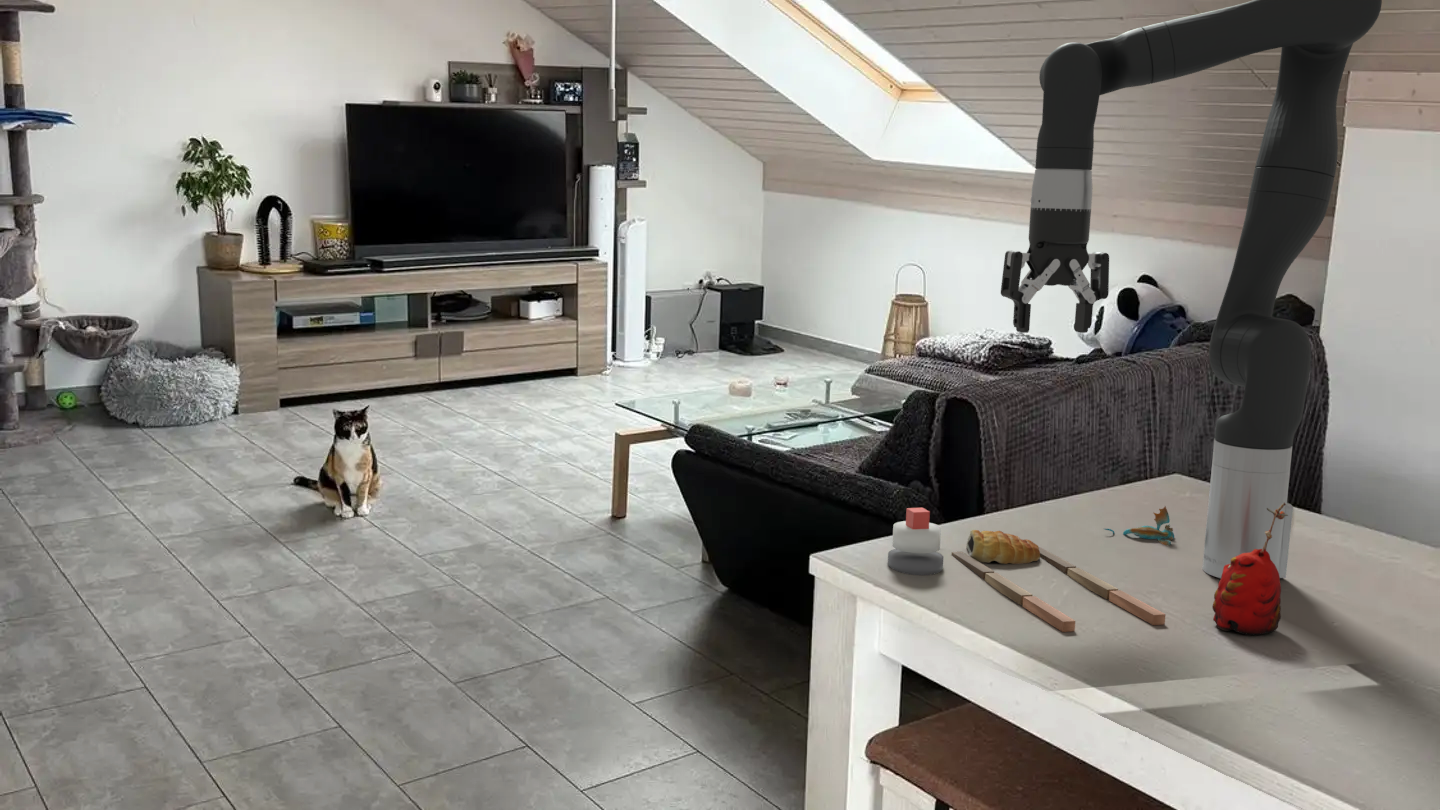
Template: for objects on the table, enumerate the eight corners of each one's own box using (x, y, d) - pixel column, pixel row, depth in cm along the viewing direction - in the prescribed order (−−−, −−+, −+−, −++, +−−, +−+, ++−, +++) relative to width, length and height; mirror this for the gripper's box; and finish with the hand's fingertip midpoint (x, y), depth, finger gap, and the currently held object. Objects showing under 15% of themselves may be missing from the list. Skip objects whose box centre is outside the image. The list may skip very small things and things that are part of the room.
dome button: (927, 539, 169) (929, 503, 168) (948, 551, 163) (950, 514, 162) (885, 541, 167) (886, 505, 166) (903, 554, 161) (905, 516, 161)
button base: (928, 561, 170) (929, 546, 169) (952, 576, 163) (952, 561, 163) (878, 564, 168) (879, 549, 168) (900, 579, 161) (901, 564, 161)
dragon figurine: (1123, 567, 184) (1180, 560, 180) (1103, 551, 179) (1161, 544, 174) (1122, 523, 187) (1178, 516, 182) (1102, 506, 182) (1159, 498, 177)
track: (1039, 555, 174) (1040, 547, 174) (1164, 624, 147) (1165, 614, 147) (951, 561, 170) (951, 552, 170) (1062, 632, 144) (1063, 621, 143)
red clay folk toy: (1222, 613, 152) (1233, 488, 149) (1286, 626, 148) (1299, 498, 145) (1204, 630, 146) (1216, 500, 143) (1271, 644, 142) (1284, 510, 139)
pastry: (1032, 554, 173) (1034, 527, 173) (1045, 567, 167) (1047, 538, 166) (962, 552, 173) (964, 524, 173) (972, 565, 167) (974, 536, 166)
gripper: (1025, 205, 160) (1016, 335, 163) (1126, 207, 164) (1116, 335, 167) (996, 204, 167) (988, 329, 170) (1094, 206, 171) (1084, 328, 174)
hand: (1052, 332), depth 169 cm, fingers open, 8 cm apart
